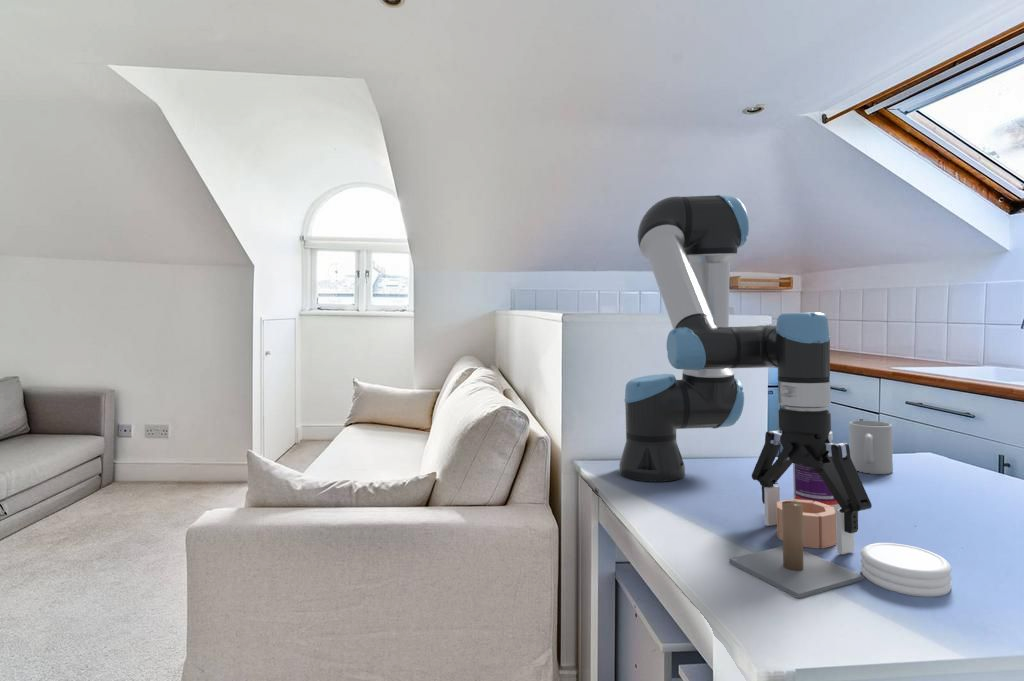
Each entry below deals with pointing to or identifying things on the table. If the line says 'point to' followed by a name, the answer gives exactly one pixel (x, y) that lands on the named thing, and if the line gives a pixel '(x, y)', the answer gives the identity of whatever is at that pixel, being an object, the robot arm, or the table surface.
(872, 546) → the coaster
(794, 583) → the post block
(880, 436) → the mug
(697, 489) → the table surface
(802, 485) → the pill bottle
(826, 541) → the ring
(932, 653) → the table surface
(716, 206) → the robot arm
